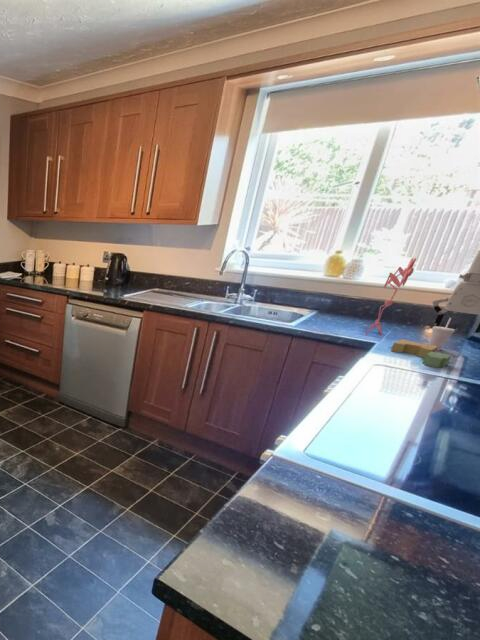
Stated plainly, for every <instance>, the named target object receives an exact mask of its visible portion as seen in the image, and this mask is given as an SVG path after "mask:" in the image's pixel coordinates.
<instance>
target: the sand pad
mask: <svg viewBox="0 0 480 640" xmlns="http://www.w3.org/2000/svg"><path fill="white" fill-rule="evenodd" d="M437 348H438V346H434V345H429V343H428V344H427V343H423V342H417V341H411V340H408V339H407V340H406V339H403V338H402V339H399V340H397V341H395V342H394V343H393V344H392V346H391V349H390V352H395V353H398V354H402V353H406V354H410V355H415V356H417V357H419V358H423V359H424V358H425V356H426V354H428V353H429V352H431V351H432V352H437V351H438V350H437Z"/></svg>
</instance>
